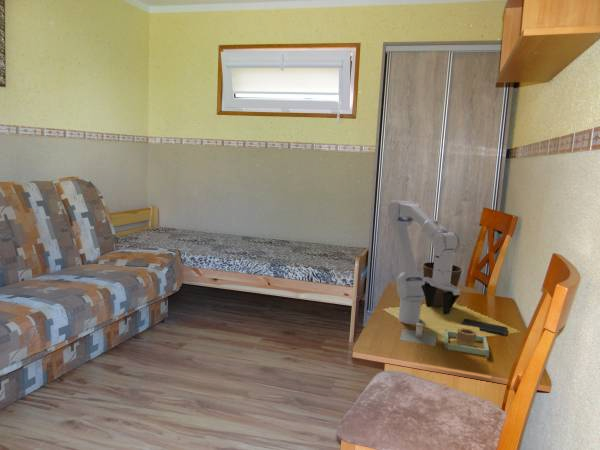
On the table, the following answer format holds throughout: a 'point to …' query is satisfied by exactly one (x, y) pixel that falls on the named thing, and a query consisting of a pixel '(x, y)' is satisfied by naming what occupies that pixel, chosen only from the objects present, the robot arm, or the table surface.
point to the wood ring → (466, 337)
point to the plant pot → (438, 295)
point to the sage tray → (466, 348)
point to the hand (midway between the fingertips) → (437, 310)
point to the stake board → (416, 340)
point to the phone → (486, 327)
